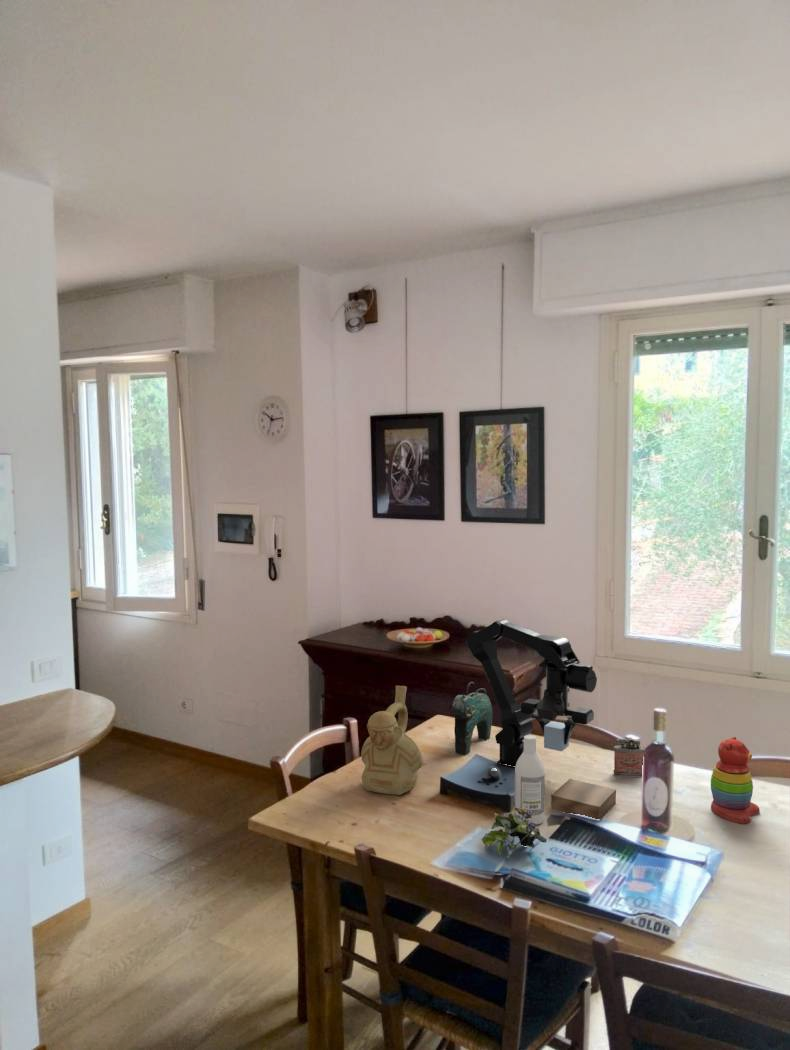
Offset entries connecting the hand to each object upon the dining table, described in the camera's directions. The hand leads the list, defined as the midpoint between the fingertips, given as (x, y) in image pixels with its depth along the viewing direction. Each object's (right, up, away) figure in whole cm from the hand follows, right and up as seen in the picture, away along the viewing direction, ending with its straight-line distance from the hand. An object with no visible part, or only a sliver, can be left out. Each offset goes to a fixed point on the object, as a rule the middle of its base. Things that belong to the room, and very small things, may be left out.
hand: (556, 742), depth 208 cm
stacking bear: (+38, -11, -22) cm, 45 cm away
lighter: (+20, -9, +2) cm, 22 cm away
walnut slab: (+3, -11, -18) cm, 21 cm away
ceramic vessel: (-44, -10, -5) cm, 46 cm away
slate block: (0, -1, 0) cm, 1 cm away
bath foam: (-12, -11, -25) cm, 30 cm away
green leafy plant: (-18, -13, -41) cm, 47 cm away
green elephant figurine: (-20, -8, +24) cm, 33 cm away
